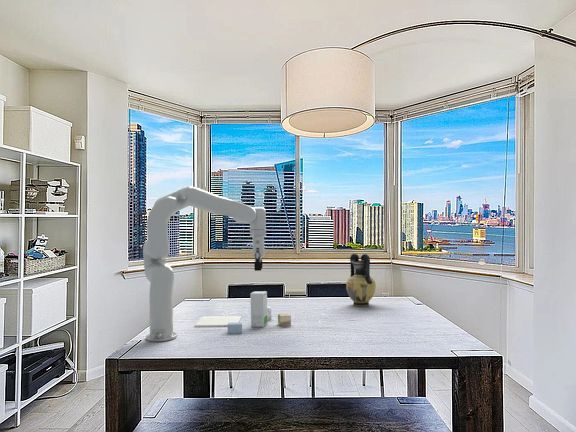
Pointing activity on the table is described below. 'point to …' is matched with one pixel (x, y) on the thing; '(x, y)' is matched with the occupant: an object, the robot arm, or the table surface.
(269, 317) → the white rounded piece
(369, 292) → the amphora
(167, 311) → the robot arm
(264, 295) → the skincare box
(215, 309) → the table surface
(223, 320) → the cream mat
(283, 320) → the birch block
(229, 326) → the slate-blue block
